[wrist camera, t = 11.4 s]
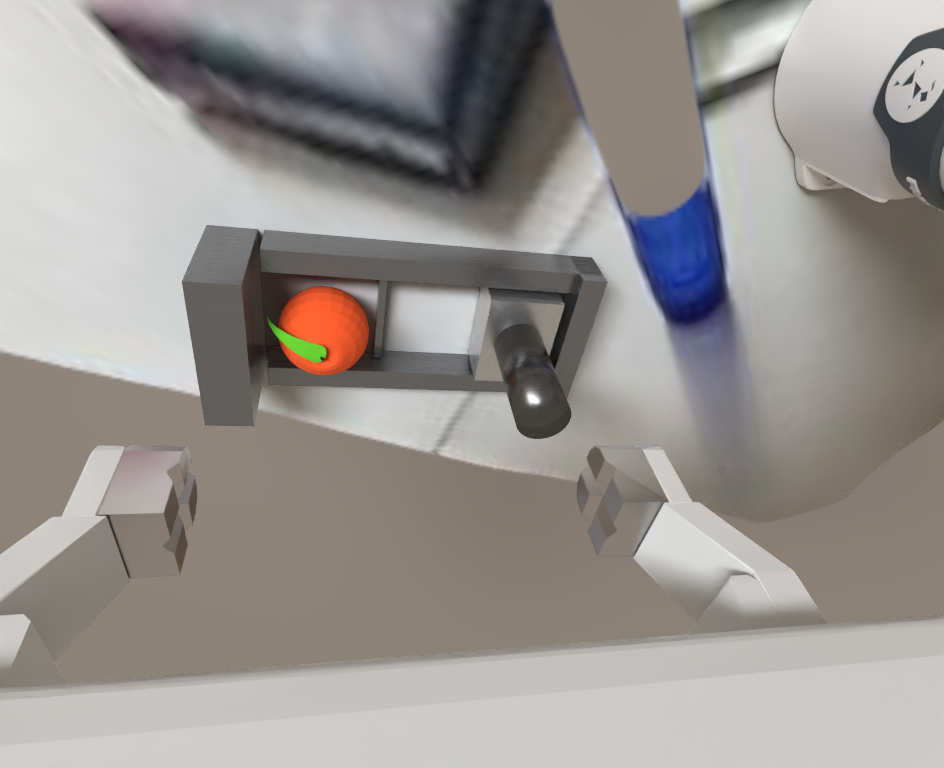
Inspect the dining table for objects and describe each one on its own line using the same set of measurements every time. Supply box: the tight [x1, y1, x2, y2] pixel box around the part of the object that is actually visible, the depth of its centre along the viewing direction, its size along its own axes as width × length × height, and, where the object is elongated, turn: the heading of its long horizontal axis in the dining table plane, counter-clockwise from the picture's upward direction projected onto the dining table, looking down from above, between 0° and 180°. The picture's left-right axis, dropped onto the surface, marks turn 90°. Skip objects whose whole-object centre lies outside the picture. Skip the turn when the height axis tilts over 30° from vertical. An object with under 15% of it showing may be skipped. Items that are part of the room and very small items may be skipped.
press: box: [182, 225, 607, 426], centre depth 47 cm, size 30×12×8 cm, turn 81°
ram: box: [468, 287, 571, 439], centre depth 47 cm, size 6×8×13 cm
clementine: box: [266, 286, 369, 375], centre depth 46 cm, size 8×7×7 cm
